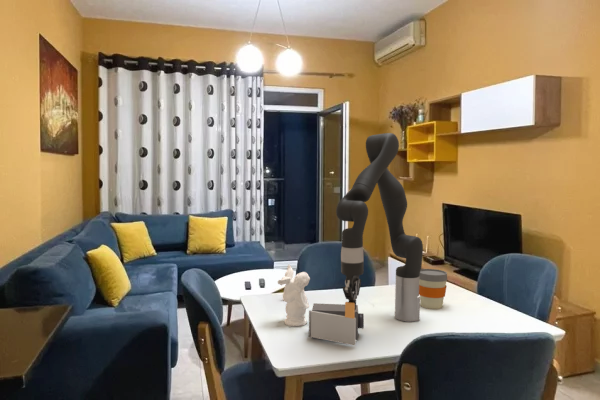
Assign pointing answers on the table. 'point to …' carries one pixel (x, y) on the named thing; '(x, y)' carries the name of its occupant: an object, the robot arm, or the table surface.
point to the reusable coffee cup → (432, 288)
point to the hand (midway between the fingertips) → (352, 310)
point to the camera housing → (340, 313)
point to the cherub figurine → (295, 297)
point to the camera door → (334, 325)
